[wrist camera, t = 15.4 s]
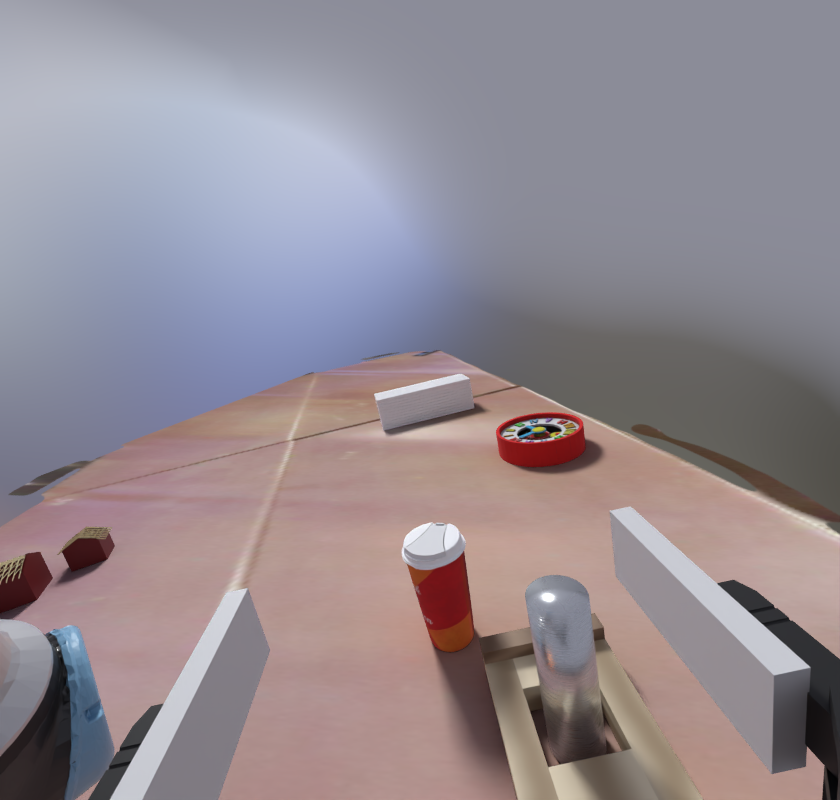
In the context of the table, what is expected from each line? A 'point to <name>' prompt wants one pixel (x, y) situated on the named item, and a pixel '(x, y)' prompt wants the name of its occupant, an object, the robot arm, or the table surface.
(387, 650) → the table surface
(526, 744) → the frame
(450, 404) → the stack of papers
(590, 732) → the brushed metal cylinder
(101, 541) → the toy houses
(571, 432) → the toy clock
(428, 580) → the paper cup
